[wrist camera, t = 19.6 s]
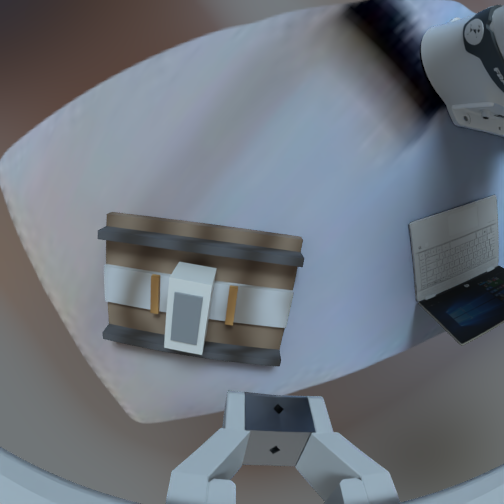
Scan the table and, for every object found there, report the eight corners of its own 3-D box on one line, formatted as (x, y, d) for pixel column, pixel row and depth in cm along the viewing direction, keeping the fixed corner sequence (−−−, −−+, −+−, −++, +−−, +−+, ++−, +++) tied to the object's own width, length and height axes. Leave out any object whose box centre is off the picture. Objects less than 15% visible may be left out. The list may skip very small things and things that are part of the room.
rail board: (300, 236, 37) (306, 245, 33) (275, 357, 42) (277, 374, 39) (111, 212, 36) (98, 218, 32) (114, 332, 41) (104, 347, 37)
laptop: (493, 193, 36) (551, 210, 23) (495, 265, 39) (545, 295, 27) (406, 222, 37) (464, 250, 25) (415, 301, 41) (461, 347, 28)
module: (216, 268, 36) (211, 286, 31) (206, 332, 38) (201, 356, 33) (179, 261, 36) (168, 278, 30) (172, 326, 38) (163, 349, 33)
